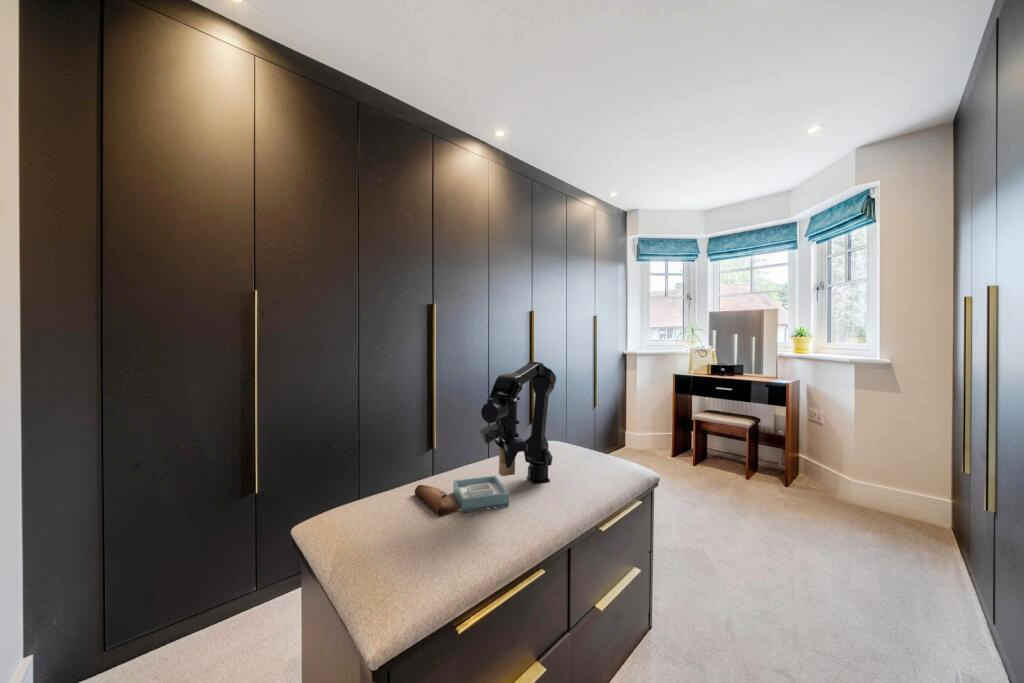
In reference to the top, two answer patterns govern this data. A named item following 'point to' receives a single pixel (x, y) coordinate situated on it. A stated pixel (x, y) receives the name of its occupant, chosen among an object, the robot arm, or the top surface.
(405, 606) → the top surface
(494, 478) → the candle dish
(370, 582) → the top surface
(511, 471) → the brown wooden block
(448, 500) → the sunglasses case
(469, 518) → the top surface
